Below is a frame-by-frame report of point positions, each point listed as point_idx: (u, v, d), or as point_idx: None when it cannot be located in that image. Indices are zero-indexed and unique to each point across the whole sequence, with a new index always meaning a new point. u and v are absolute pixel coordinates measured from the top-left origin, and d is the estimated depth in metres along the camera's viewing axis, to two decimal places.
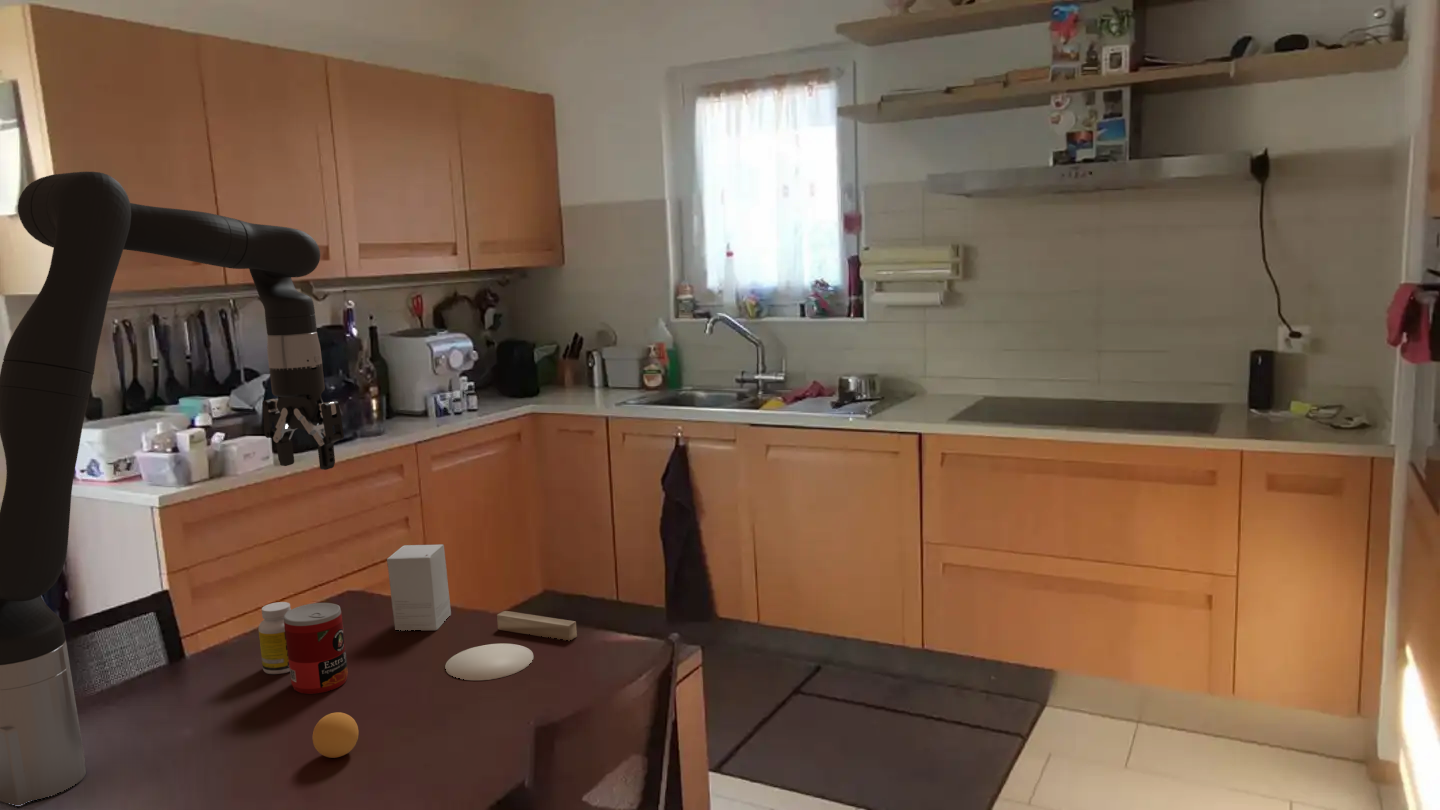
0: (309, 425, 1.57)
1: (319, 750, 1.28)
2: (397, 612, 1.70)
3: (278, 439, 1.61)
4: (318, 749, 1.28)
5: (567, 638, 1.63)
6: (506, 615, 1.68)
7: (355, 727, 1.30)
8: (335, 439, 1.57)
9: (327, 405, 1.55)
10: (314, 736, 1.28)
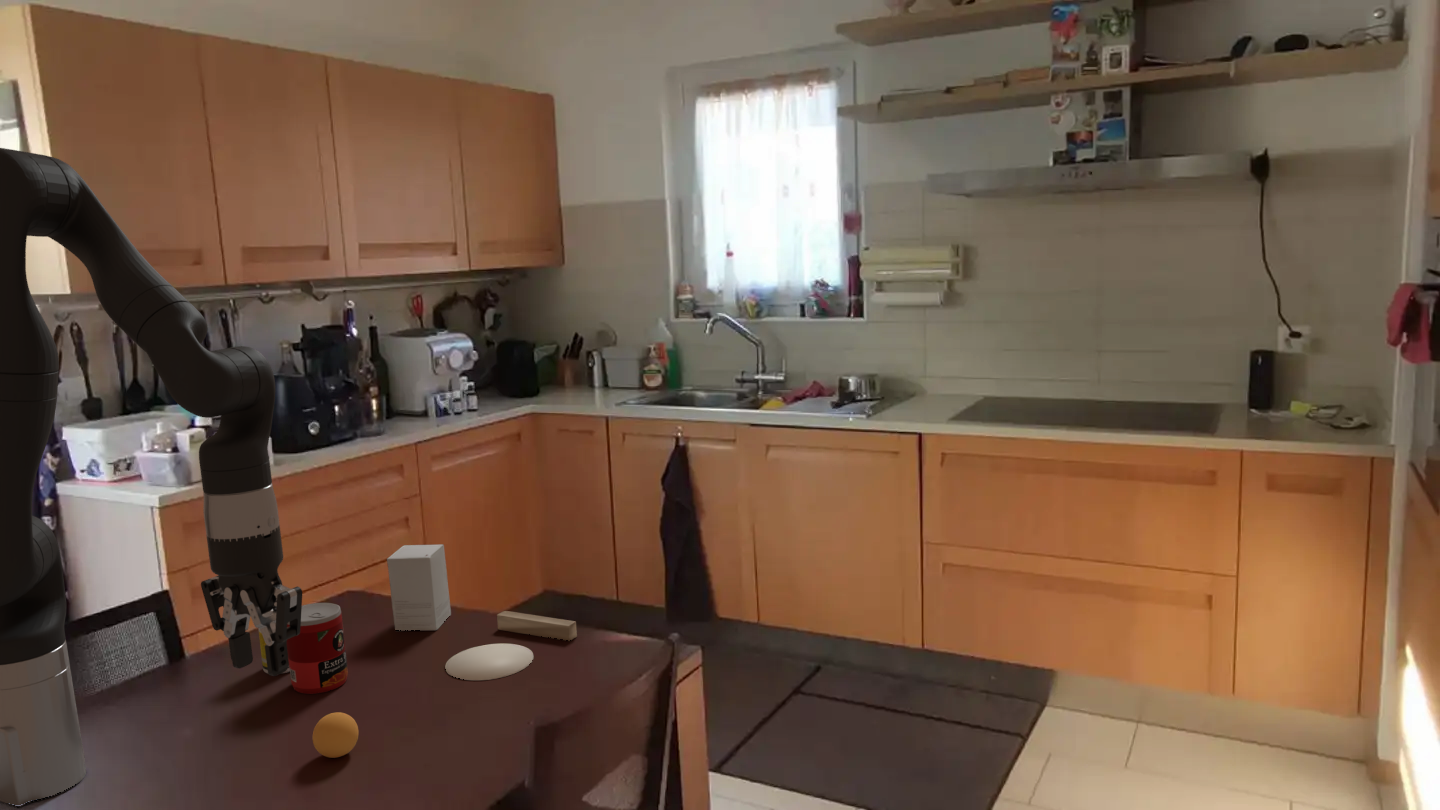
0: (258, 617, 1.15)
1: (319, 750, 1.28)
2: (397, 612, 1.70)
3: (230, 632, 1.19)
4: (318, 749, 1.28)
5: (567, 638, 1.63)
6: (506, 615, 1.68)
7: (355, 727, 1.30)
8: (288, 637, 1.16)
9: (286, 597, 1.14)
10: (314, 736, 1.28)
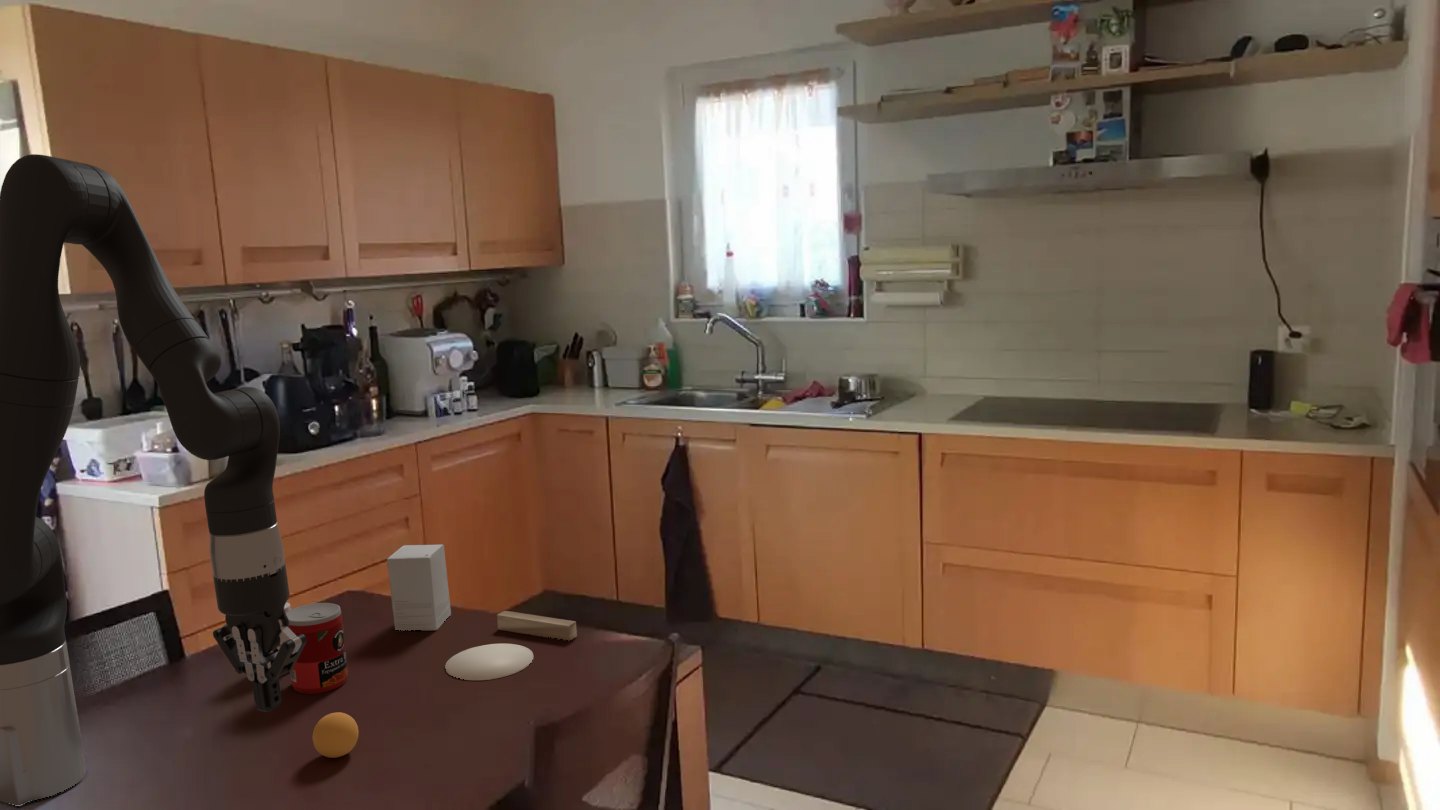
0: (258, 658, 1.17)
1: (319, 750, 1.28)
2: (397, 612, 1.70)
3: (253, 674, 1.19)
4: (318, 749, 1.28)
5: (567, 638, 1.63)
6: (506, 615, 1.68)
7: (355, 727, 1.30)
8: (280, 674, 1.18)
9: (291, 648, 1.16)
10: (314, 736, 1.28)
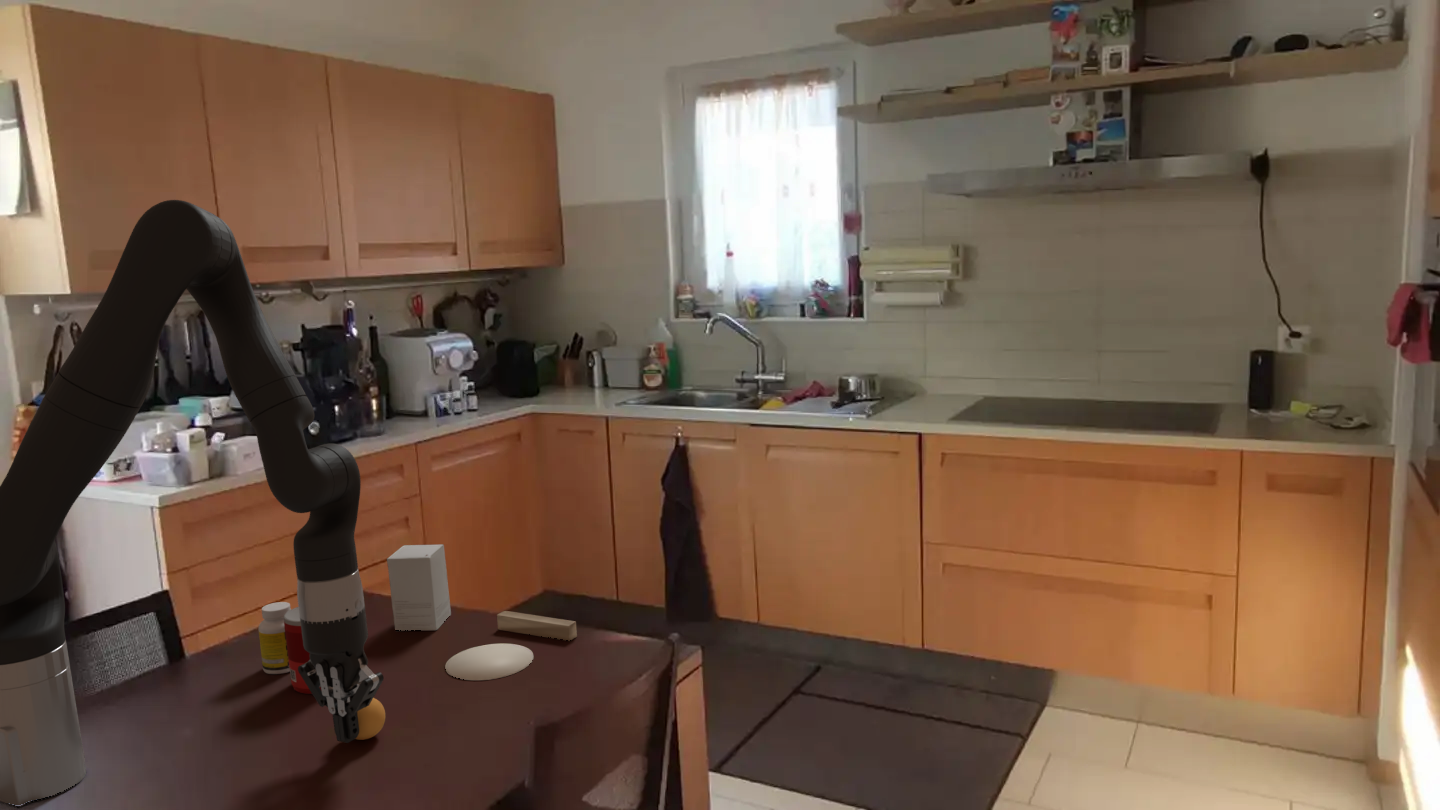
0: (339, 693, 1.27)
1: None
2: (397, 612, 1.70)
3: (334, 707, 1.29)
4: None
5: (567, 638, 1.63)
6: (506, 615, 1.68)
7: (383, 724, 1.34)
8: (359, 709, 1.28)
9: (370, 685, 1.25)
10: None
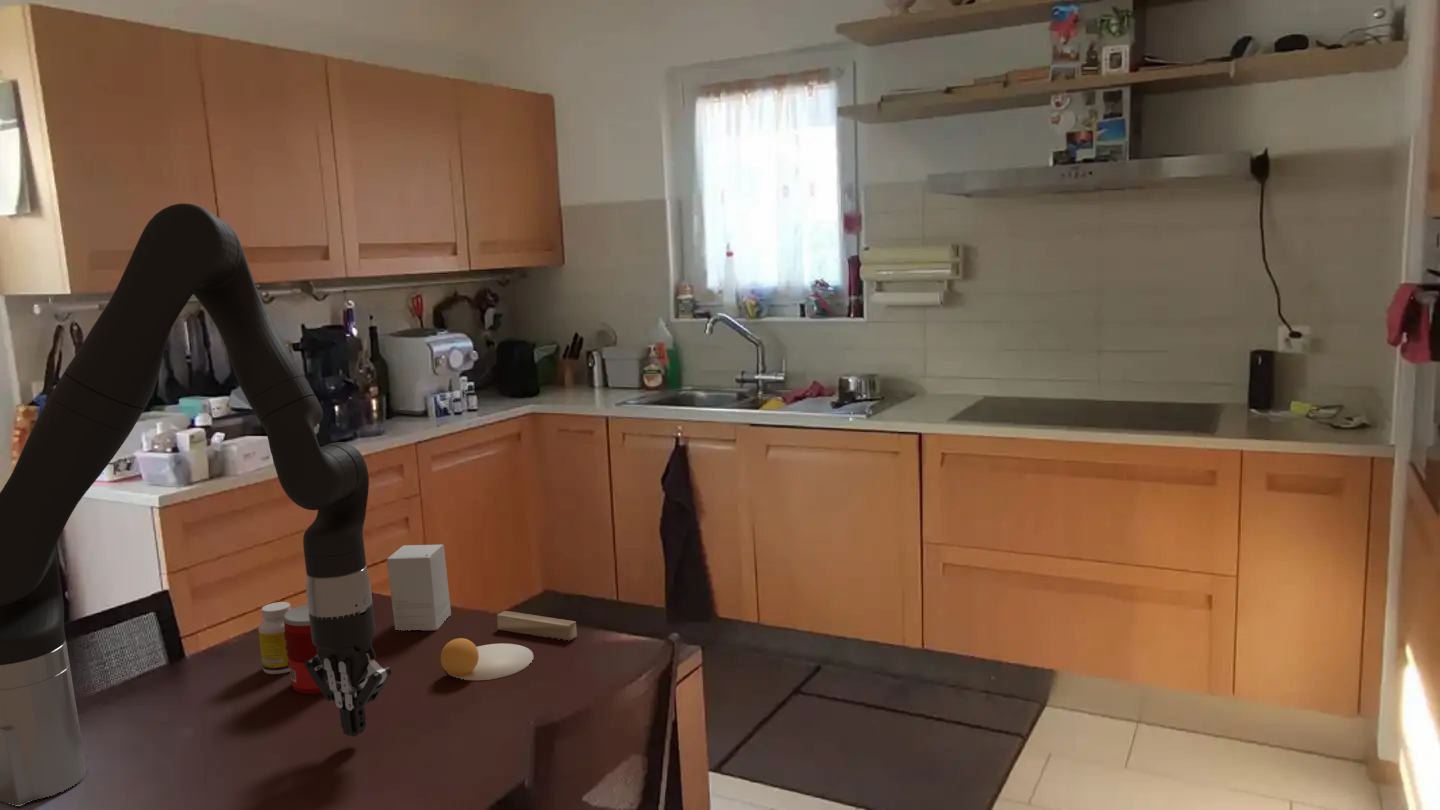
0: (348, 687, 1.29)
1: None
2: (397, 612, 1.70)
3: (341, 702, 1.31)
4: None
5: (567, 638, 1.63)
6: (506, 615, 1.68)
7: (471, 668, 1.51)
8: (366, 703, 1.30)
9: (378, 679, 1.28)
10: None
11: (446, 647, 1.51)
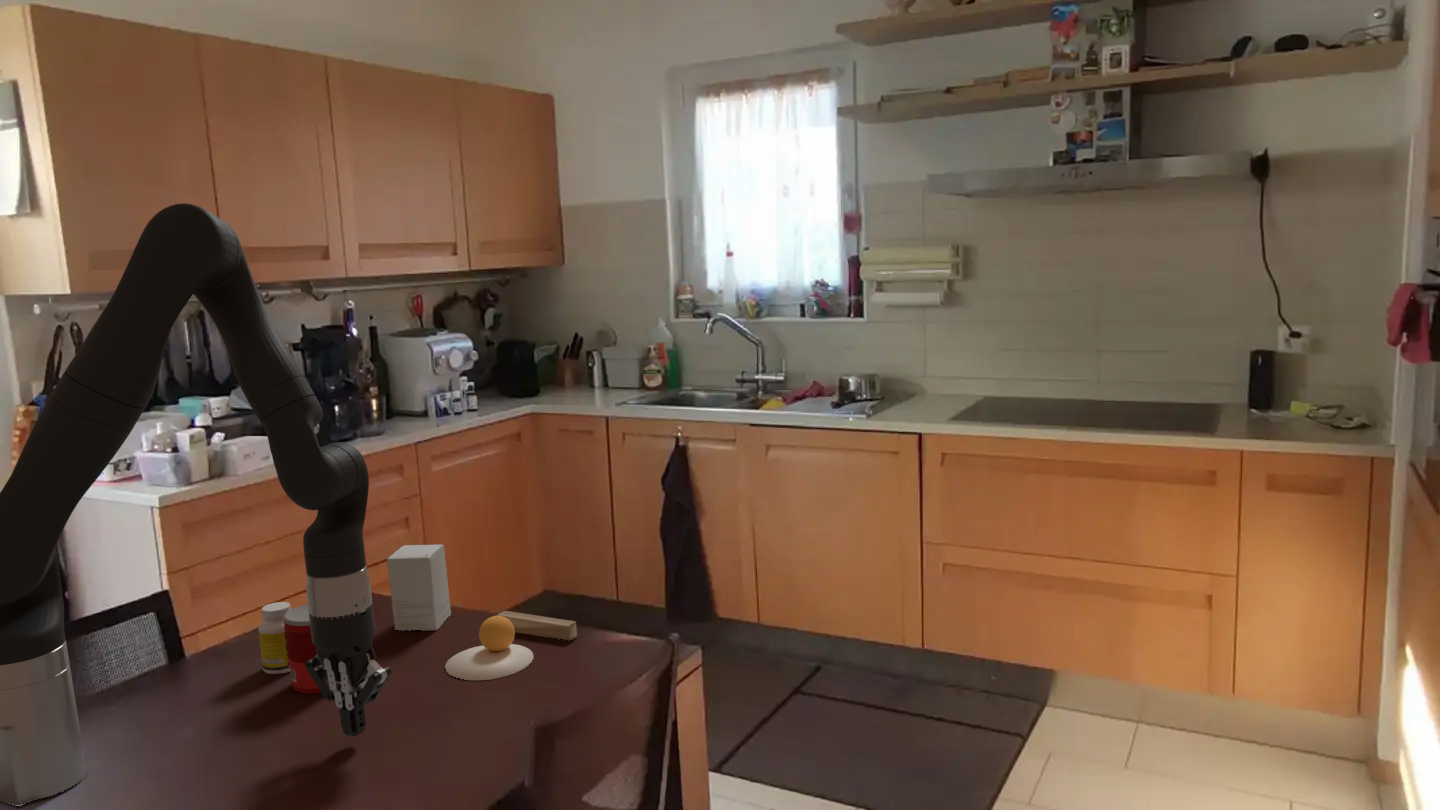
0: (348, 687, 1.29)
1: (487, 647, 1.59)
2: (397, 612, 1.70)
3: (341, 702, 1.31)
4: (486, 647, 1.59)
5: (567, 638, 1.63)
6: (506, 615, 1.68)
7: (512, 626, 1.60)
8: (366, 703, 1.30)
9: (378, 679, 1.28)
10: (482, 637, 1.59)
11: None
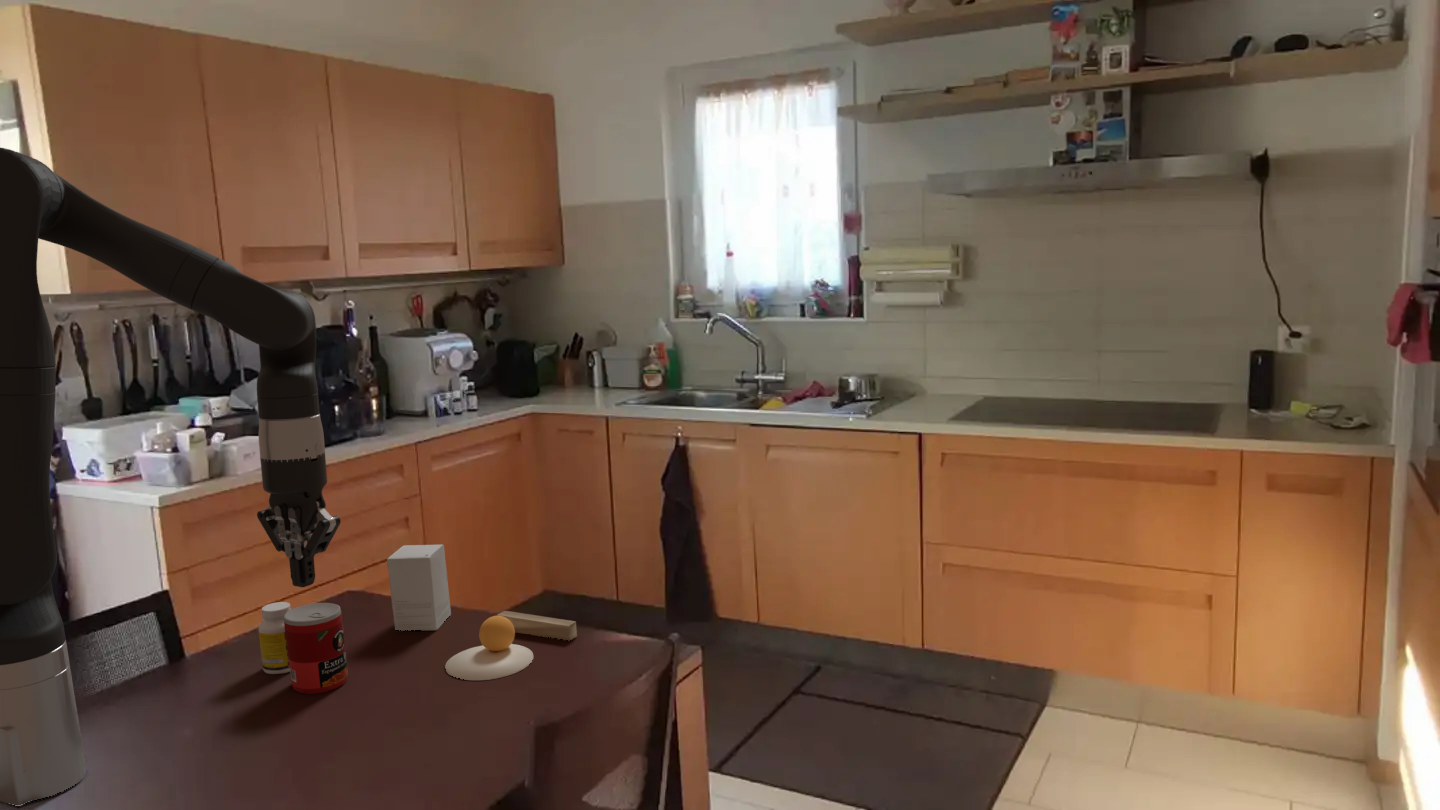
0: (296, 535, 1.29)
1: (487, 647, 1.59)
2: (397, 612, 1.70)
3: (290, 551, 1.31)
4: (486, 647, 1.59)
5: (567, 638, 1.63)
6: (506, 615, 1.68)
7: (512, 626, 1.60)
8: (315, 552, 1.30)
9: (326, 526, 1.27)
10: (482, 637, 1.59)
11: None
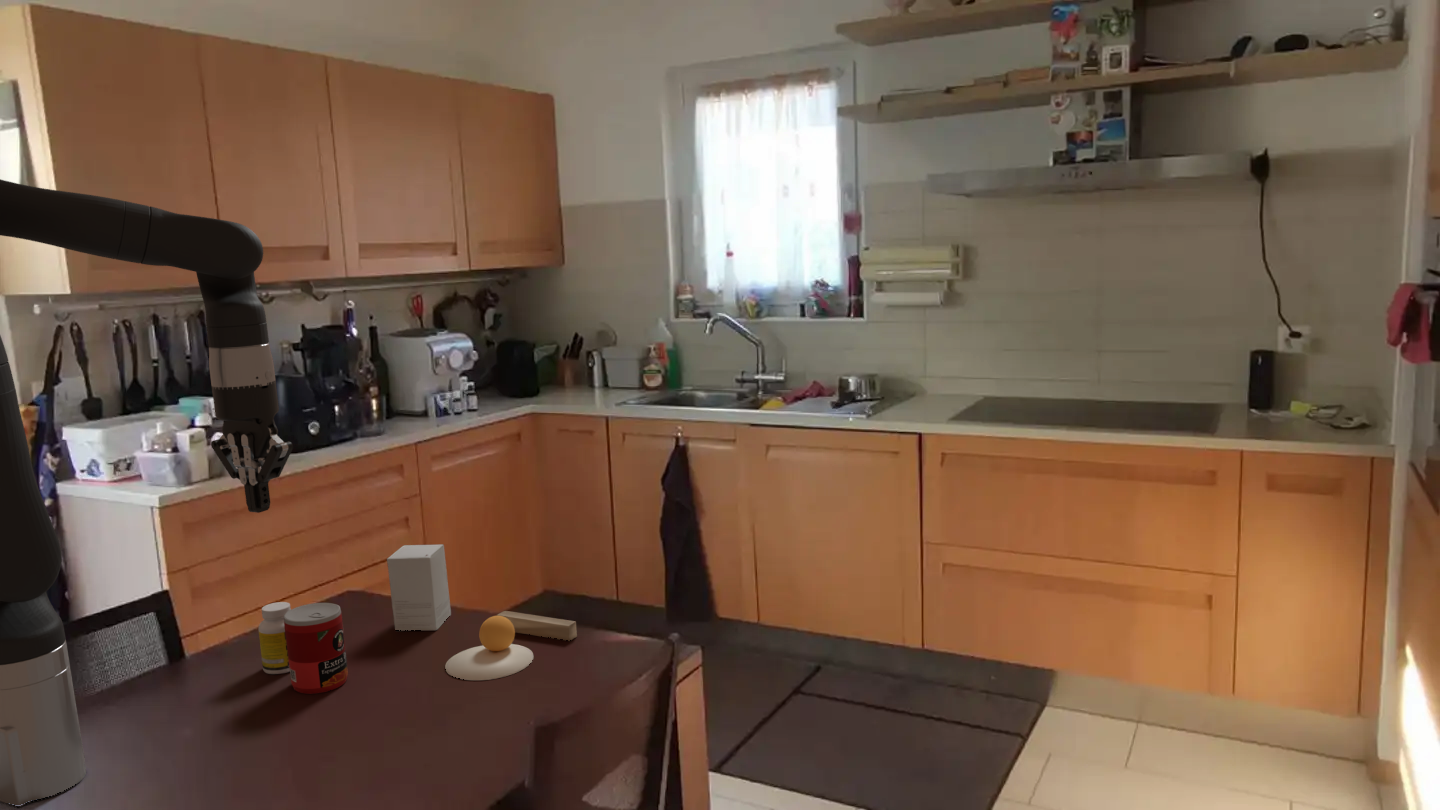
0: (250, 461, 1.33)
1: (487, 647, 1.59)
2: (397, 612, 1.70)
3: (245, 478, 1.35)
4: (486, 647, 1.59)
5: (567, 638, 1.63)
6: (506, 615, 1.68)
7: (512, 626, 1.60)
8: (269, 477, 1.34)
9: (279, 450, 1.31)
10: (482, 637, 1.59)
11: None
